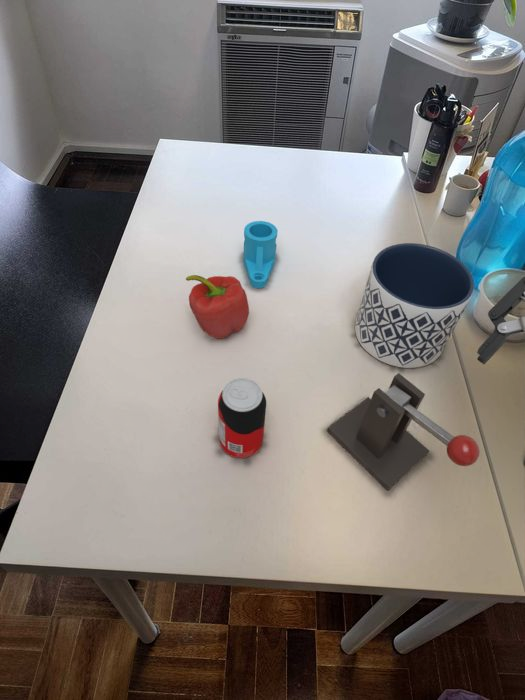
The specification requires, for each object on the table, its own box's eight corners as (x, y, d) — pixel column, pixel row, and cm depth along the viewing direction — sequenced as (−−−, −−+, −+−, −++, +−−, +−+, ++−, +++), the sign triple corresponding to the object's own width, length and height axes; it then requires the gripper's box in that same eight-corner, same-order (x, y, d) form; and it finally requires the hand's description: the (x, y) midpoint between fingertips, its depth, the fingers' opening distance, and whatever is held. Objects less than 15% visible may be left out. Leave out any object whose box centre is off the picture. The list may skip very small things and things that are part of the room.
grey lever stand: (427, 454, 69) (459, 405, 59) (387, 491, 65) (414, 445, 55) (366, 401, 75) (386, 348, 65) (326, 431, 71) (341, 380, 61)
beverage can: (255, 466, 66) (259, 420, 57) (213, 454, 67) (210, 407, 58) (267, 429, 70) (272, 381, 61) (227, 418, 71) (226, 369, 62)
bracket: (275, 251, 99) (277, 221, 93) (274, 289, 91) (277, 259, 85) (244, 249, 99) (244, 220, 93) (241, 287, 91) (241, 257, 85)
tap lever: (480, 460, 57) (489, 443, 54) (463, 477, 55) (472, 460, 53) (393, 396, 64) (398, 378, 62) (376, 410, 63) (380, 392, 60)
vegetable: (178, 336, 82) (172, 293, 74) (201, 298, 88) (198, 255, 81) (237, 353, 80) (237, 311, 72) (256, 312, 86) (258, 270, 79)
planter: (445, 316, 88) (475, 255, 77) (440, 380, 78) (474, 320, 67) (362, 296, 91) (379, 234, 80) (346, 355, 81) (364, 293, 70)
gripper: (562, 220, 48) (454, 341, 52) (712, 298, 41) (573, 432, 45) (562, 245, 55) (465, 351, 58) (691, 316, 48) (572, 432, 51)
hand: (512, 386), depth 52 cm, fingers open, 8 cm apart
